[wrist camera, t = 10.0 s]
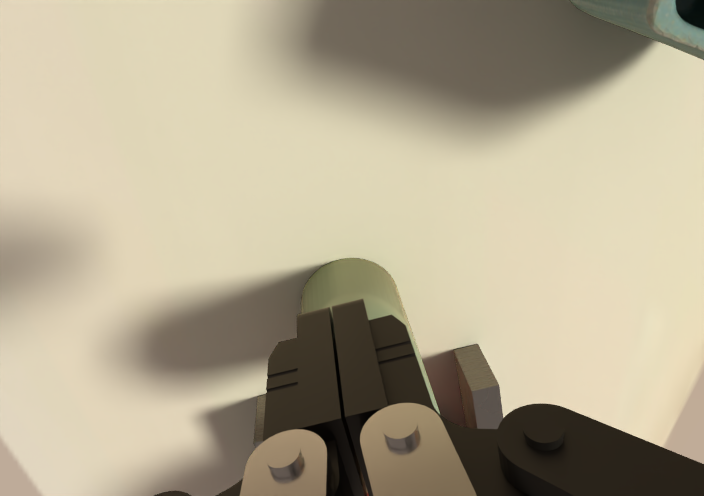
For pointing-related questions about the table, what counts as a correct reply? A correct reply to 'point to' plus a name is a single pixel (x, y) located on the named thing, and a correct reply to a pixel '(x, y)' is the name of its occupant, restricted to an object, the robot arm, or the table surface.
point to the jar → (359, 295)
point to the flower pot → (655, 20)
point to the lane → (474, 386)
